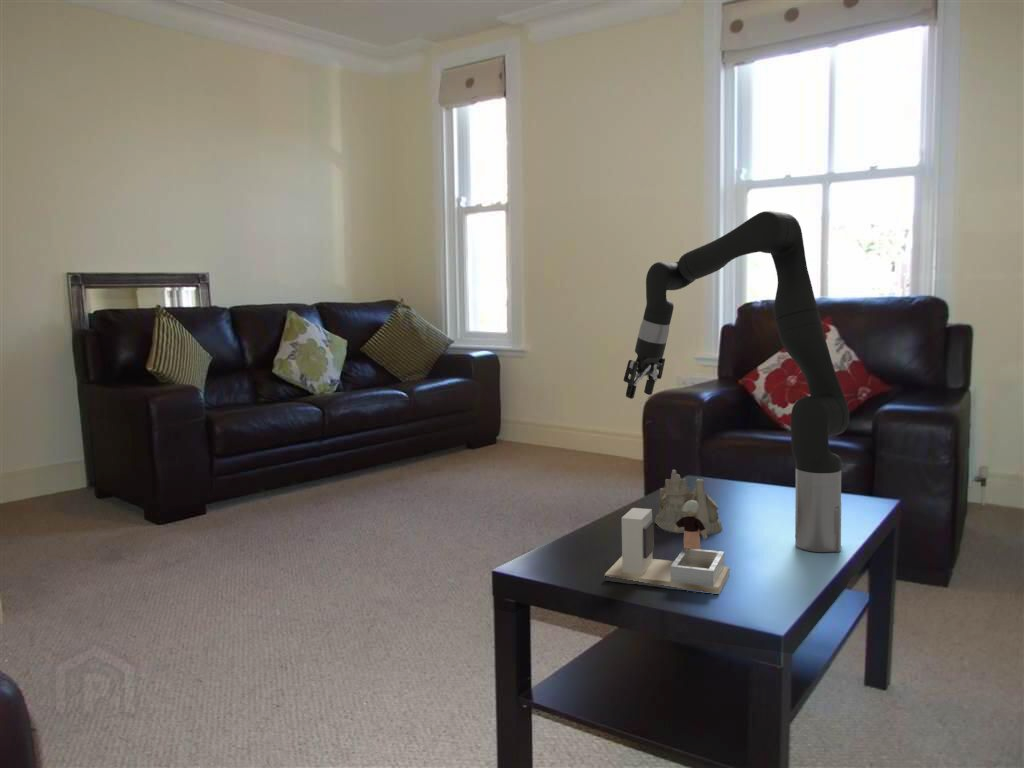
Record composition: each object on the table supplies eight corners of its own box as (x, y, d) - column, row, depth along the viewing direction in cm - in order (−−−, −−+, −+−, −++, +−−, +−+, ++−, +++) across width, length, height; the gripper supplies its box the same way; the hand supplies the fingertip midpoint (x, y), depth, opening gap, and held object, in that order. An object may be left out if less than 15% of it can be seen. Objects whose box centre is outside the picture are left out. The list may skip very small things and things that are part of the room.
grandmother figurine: (712, 558, 166) (711, 500, 165) (706, 564, 163) (705, 504, 162) (677, 553, 171) (676, 496, 169) (670, 558, 167) (670, 500, 166)
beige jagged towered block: (721, 535, 182) (718, 471, 182) (649, 533, 187) (647, 471, 187) (725, 521, 197) (723, 461, 196) (659, 520, 202) (657, 462, 202)
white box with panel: (655, 562, 161) (654, 509, 160) (645, 575, 154) (644, 519, 152) (633, 560, 163) (632, 507, 162) (622, 572, 155) (621, 517, 154)
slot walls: (724, 566, 157) (724, 551, 157) (713, 586, 146) (713, 571, 146) (684, 562, 160) (683, 547, 160) (670, 581, 150) (670, 566, 149)
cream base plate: (729, 574, 157) (729, 566, 157) (719, 595, 146) (719, 587, 146) (622, 562, 166) (622, 555, 166) (604, 581, 155) (604, 574, 155)
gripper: (648, 344, 198) (634, 404, 203) (679, 340, 208) (665, 397, 214) (625, 335, 203) (611, 394, 208) (656, 331, 213) (642, 388, 218)
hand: (638, 395), depth 211 cm, fingers open, 8 cm apart
